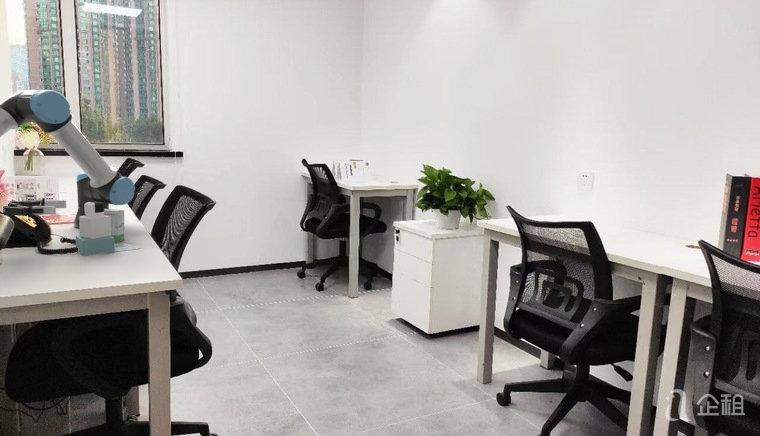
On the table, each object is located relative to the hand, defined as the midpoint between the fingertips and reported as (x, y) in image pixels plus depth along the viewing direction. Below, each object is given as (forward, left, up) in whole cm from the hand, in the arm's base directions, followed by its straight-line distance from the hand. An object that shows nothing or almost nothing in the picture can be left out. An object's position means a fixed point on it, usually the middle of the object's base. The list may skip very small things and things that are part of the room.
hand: (61, 207), depth 190 cm
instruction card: (+2, +18, -15) cm, 24 cm away
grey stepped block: (+4, +9, -11) cm, 15 cm away
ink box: (-12, +18, -16) cm, 27 cm away
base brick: (+4, +9, -15) cm, 18 cm away
